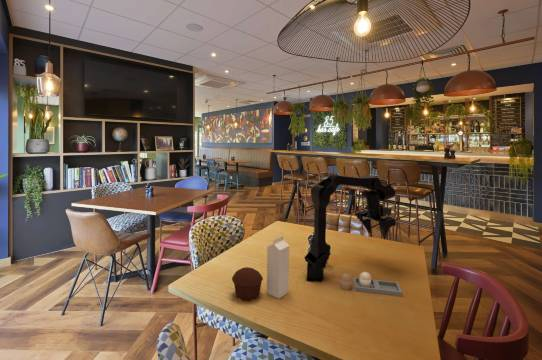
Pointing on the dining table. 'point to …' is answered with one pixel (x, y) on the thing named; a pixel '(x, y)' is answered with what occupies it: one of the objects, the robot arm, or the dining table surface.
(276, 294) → the milk
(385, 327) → the dining table surface
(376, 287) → the grey flat rectangular tray
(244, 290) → the muffin
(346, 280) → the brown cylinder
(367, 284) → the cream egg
